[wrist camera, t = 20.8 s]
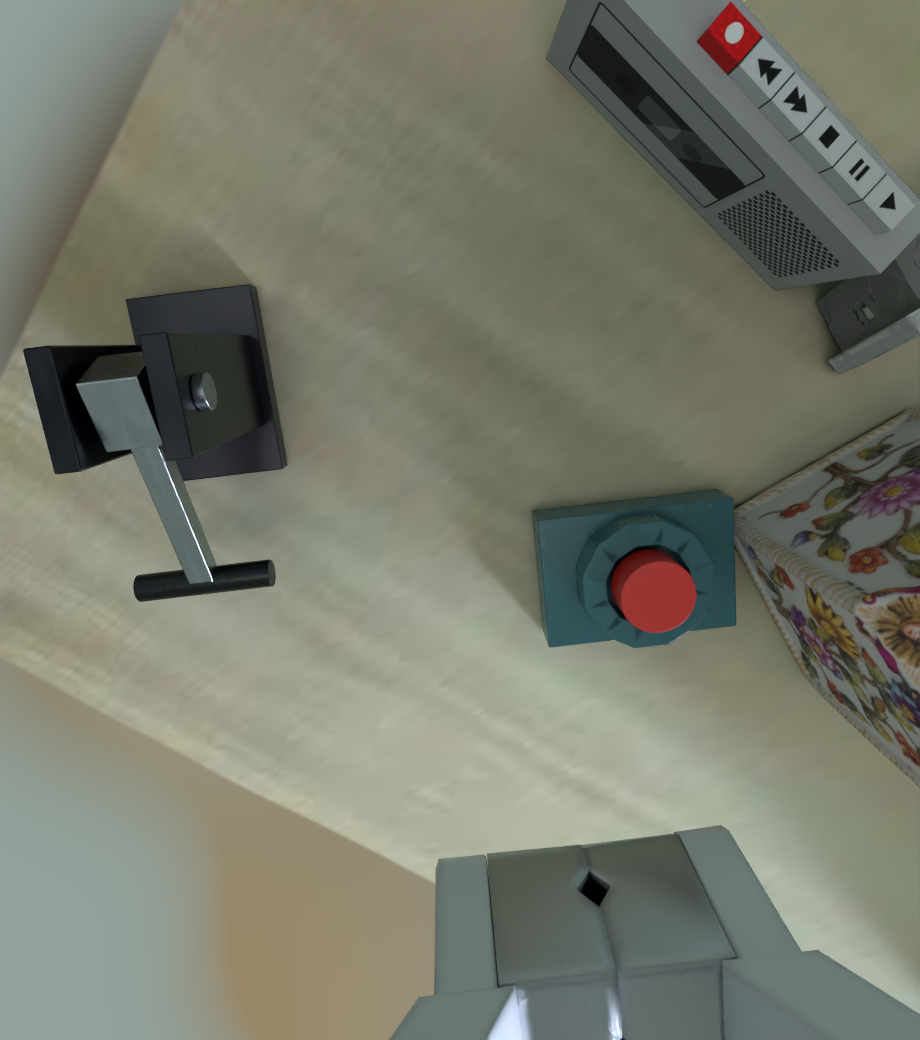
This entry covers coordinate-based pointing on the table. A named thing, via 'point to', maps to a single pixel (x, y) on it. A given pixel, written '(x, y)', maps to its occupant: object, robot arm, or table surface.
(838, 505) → the decorative jar
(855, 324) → the electrical switch
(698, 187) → the cassette player
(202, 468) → the bracket
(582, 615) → the button block
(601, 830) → the table surface
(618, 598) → the button
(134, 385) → the lever
